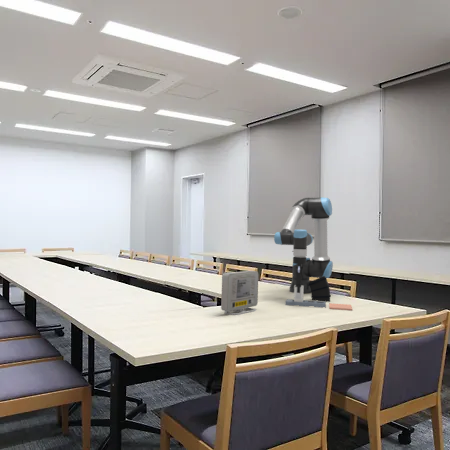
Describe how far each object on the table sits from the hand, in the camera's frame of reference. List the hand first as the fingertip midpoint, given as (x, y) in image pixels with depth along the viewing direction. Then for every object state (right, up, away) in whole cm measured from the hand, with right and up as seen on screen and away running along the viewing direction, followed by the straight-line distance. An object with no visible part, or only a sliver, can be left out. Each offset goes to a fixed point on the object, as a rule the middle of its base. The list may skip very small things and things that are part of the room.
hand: (298, 297), depth 243 cm
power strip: (+4, -4, -1) cm, 6 cm away
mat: (+22, -4, -5) cm, 23 cm away
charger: (0, -3, 0) cm, 3 cm away
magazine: (+15, -5, +17) cm, 23 cm away
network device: (-34, -3, -26) cm, 43 cm away
